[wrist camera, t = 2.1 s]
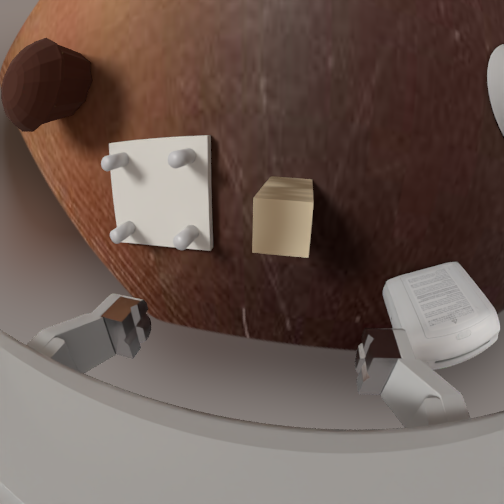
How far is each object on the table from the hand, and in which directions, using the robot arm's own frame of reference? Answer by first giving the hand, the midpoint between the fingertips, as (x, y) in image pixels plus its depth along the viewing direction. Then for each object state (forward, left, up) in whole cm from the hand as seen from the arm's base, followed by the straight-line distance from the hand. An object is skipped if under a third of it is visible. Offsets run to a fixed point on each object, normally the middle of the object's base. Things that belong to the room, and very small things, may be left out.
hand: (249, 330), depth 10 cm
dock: (+14, 0, -20) cm, 24 cm away
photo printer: (-16, +8, -20) cm, 27 cm away
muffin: (+28, -15, -20) cm, 37 cm away
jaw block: (0, 0, -20) cm, 20 cm away
